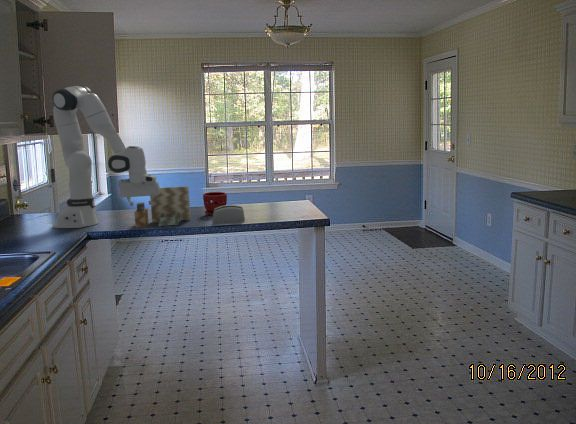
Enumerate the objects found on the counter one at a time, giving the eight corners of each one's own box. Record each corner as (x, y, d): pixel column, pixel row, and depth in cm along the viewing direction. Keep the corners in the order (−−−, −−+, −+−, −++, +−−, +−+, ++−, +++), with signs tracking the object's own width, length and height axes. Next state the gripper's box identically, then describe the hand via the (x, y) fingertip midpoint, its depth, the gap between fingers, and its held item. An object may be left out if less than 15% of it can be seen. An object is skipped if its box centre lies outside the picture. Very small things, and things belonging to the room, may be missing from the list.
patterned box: (148, 227, 280) (145, 192, 277) (153, 221, 296) (150, 187, 293) (188, 225, 282) (185, 190, 279) (190, 219, 298) (188, 186, 295)
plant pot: (201, 216, 304) (199, 195, 302) (208, 212, 317) (206, 191, 315) (224, 216, 302) (222, 194, 300) (230, 212, 315) (229, 191, 313)
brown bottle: (135, 227, 281) (133, 205, 279) (139, 223, 291) (137, 202, 289) (145, 227, 281) (143, 204, 279) (148, 223, 291) (146, 201, 289)
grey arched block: (243, 219, 292) (243, 202, 288) (245, 223, 288) (245, 206, 284) (212, 221, 289) (211, 204, 284) (213, 226, 285) (212, 209, 280)
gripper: (116, 180, 278) (119, 207, 280) (157, 177, 279) (160, 204, 282) (118, 178, 284) (121, 205, 286) (159, 176, 285) (161, 202, 288)
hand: (141, 205), depth 284 cm, fingers open, 8 cm apart
